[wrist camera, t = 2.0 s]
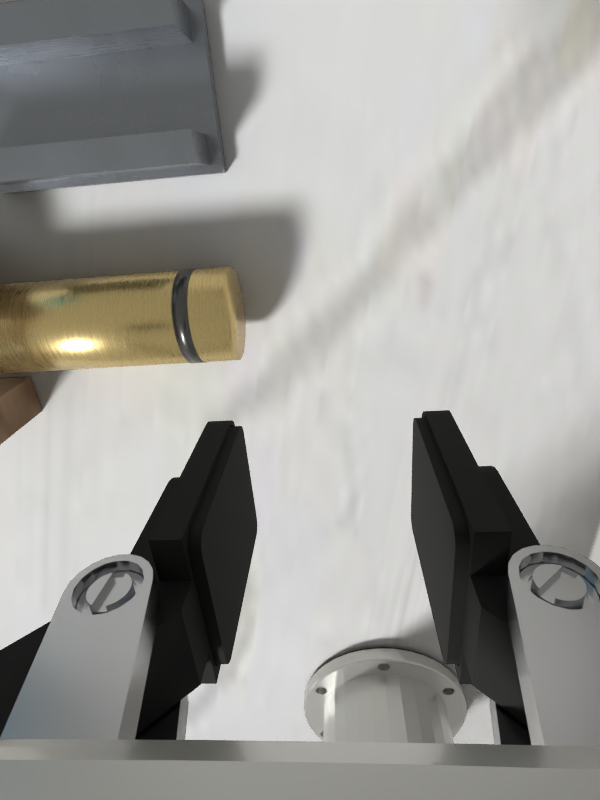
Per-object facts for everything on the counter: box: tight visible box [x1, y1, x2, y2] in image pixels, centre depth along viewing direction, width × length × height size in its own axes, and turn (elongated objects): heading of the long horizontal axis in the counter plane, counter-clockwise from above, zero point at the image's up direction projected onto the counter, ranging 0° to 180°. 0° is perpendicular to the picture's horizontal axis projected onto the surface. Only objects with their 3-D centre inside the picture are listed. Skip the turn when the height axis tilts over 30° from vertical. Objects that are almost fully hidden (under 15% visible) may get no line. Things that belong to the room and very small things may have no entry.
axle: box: [0, 267, 245, 374], centre depth 23 cm, size 14×4×4 cm, turn 95°
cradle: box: [0, 0, 226, 193], centre depth 20 cm, size 6×11×3 cm, turn 95°
